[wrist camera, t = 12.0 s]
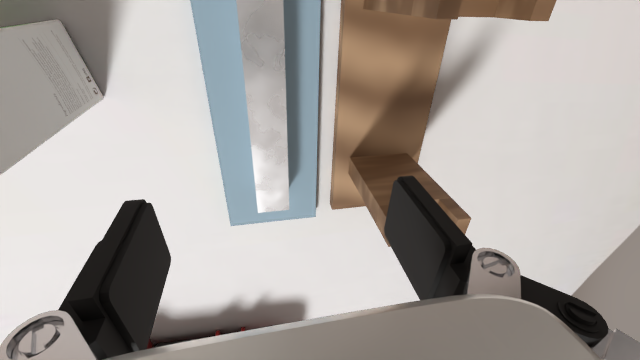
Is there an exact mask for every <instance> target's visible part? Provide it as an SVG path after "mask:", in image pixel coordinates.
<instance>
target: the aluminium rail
mask: <svg viewBox="0 0 640 360" xmlns="http://www.w3.org/2000/svg"><path fill="white" fill-rule="evenodd" d="M236 3H237V13H238V23H239V32H240V42H241V52H242V62H243V71H244V81H245V91H246V101H247V111H248V120H249V130H250V140H251V150H252V159H253V169H254V179H255V189H256V199H257V208H258V213H262V212H272V211H282V210H289V179H288V144H287V110H286V75H285V41H284V7H283V0H236Z"/></svg>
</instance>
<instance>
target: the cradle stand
mask: <svg viewBox="0 0 640 360" xmlns="http://www.w3.org/2000/svg"><path fill="white" fill-rule="evenodd" d="M555 3H556V0H341V15H340V33H339V51H338V69H337V87H336V105H335V123H334V141H333V159H332V177H331V195H330V205H331V208H332V210H333V209H343V208H352V207H361V206H366V207H367V208H368V210H369V212H370V214H371V216H372V217H373V219H374V221H375V223H376V225H377V227H378V228H379V230H380V232H381V234H382V236H383V238H384V239H385V241H386V243H387V245H388V247H390V244H389V242H388V240H387V238H386V236H385V233H384V226H385V221H386V216H387V211H388V207H389V202H390V197H391V192H392V187H393V183H394V181H395V180H397V179H398V177H400V176H411V175H412V176H414V177H415V178H416V179H417V180H418V182H419V183H420V184H421V185H422V186H423V187H424V188H425V190H426V191H427V192H428V193H429V194H430V195H431V197H432V198H433V199H434V200H435V201H436V202H437V203H438V205H439V206H440V207H441V208H442V209H443V210H444V212H445V213H446V214H447V215H448V216H449V217H450V218H451V220H452V221H453V222H454V223H455V224H456V225H457V226H458V228H459V229H460V230H461V231H462V232H463V233H464V235H465V233H466V230H467V228H468V225H469V223H470V220H471V217H470V216H469V215H468V214H467V213H466V212H465V211H464V210H463V209H462V208H461V207H460V206H459V205H458V204H457V203H456V202H455V201H454V200H453V199H452V198H451V197H450V196H449V195H448V194H447V193H446V192H445V191H444V190H443V189H442V188H441V187H440V186H439V185H438V184H437V183H436V182H435V181H434V180H433V179H432V178H431V177H430V176H429V175H428V174H427V173H426V172H425V171H424V170H423V169H422V168H421V167H420V166H419V165H418V164H417V163H418V159H419V155H420V151H421V146H422V142H423V138H424V133H425V129H426V125H427V121H428V116H429V112H430V108H431V104H432V99H433V95H434V91H435V86H436V82H437V78H438V74H439V69H440V65H441V61H442V57H443V52H444V48H445V44H446V39H447V35H448V31H449V27H450V22H451V19H458V17H497V18H507V19H517V20H528V21H549V18H550V15H551V13H552V10H553V8H554V5H555Z"/></svg>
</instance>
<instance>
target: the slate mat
mask: <svg viewBox="0 0 640 360" xmlns="http://www.w3.org/2000/svg"><path fill="white" fill-rule="evenodd" d="M190 1H191V7H192V12H193V18H194V23H195V29H196V34H197V40H198V46H199V51H200V57H201V62H202V68H203V74H204V79H205V85H206V90H207V96H208V101H209V107H210V113H211V118H212V124H213V129H214V135H215V140H216V146H217V152H218V157H219V163H220V168H221V174H222V179H223V185H224V191H225V196H226V202H227V207H228V213H229V218H230V224H231V226H235V225H244V224H254V223H263V222H272V221H281V220H290V219H299V218H309V217H316V177H317V134H318V92H319V49H320V7H321V0H283V7H284V41H285V75H286V110H287V144H288V179H289V210H282V211H272V212H262V213H258V208H257V199H256V189H255V179H254V169H253V159H252V150H251V140H250V130H249V120H248V111H247V101H246V91H245V81H244V71H243V62H242V52H241V42H240V32H239V23H238V13H237V3H236V0H190Z"/></svg>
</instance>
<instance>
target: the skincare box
mask: <svg viewBox="0 0 640 360" xmlns="http://www.w3.org/2000/svg"><path fill="white" fill-rule="evenodd" d="M103 98H104V97H103V95H102V93H101V92H100V90H99V88H98V86H97V85H96V83H95V81H94V79H93V77H92V76H91V74H90V72H89V70H88V68H87V67H86V65H85V63H84V61H83V60H82V58H81V56H80V54H79V53H78V51H77V49H76V47H75V46H74V44H73V42H72V40H71V39H70V37H69V35H68V33H67V31H66V30H65V28H64V26H63V24H62V22H61V21H60V20H58V19H56V20H49V21H42V22H35V23H28V24H22V25H15V26H8V27H1V28H0V175H1V174H3V173H4V172H5V171H7V170H8V169H9V168H11V167H12V166H13V165H15V164H16V163H17V162H19V161H20V160H21V159H23V158H24V157H25V156H27V155H28V154H29V153H31V152H32V151H33V150H35V149H36V148H37V147H39V146H40V145H41V144H43V143H44V142H45V141H47V140H48V139H49V138H51V137H52V136H54V135H55V134H56V133H58V132H59V131H60V130H62V129H63V128H64V127H66V126H67V125H68V124H70V123H71V122H72V121H74V120H75V119H76V118H78V117H79V116H81V115H82V114H83V113H85V112H86V111H87V110H89V109H90V108H91V107H93V106H94V105H96V104H97V103H98V102H100V101H101V100H103Z"/></svg>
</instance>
